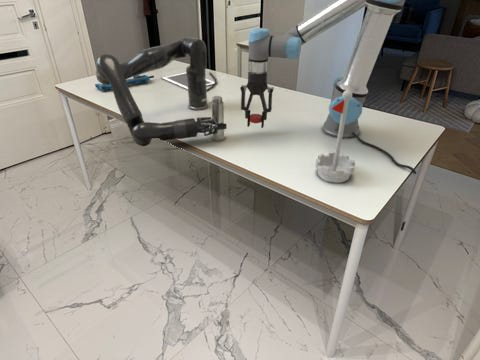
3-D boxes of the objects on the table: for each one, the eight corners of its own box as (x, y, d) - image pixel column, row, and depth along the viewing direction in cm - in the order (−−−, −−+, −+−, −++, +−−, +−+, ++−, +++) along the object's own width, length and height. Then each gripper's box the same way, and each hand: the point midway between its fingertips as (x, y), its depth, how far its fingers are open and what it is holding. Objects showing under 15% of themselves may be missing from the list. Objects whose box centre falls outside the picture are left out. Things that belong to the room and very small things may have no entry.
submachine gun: (140, 68, 224) (158, 75, 207) (141, 74, 226) (159, 81, 209) (87, 79, 205) (103, 86, 189) (89, 85, 207) (104, 93, 190)
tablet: (161, 78, 216) (161, 77, 216) (188, 72, 227) (188, 71, 227) (189, 90, 196) (189, 89, 195) (217, 83, 207) (217, 82, 206)
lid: (261, 117, 147) (261, 113, 146) (263, 123, 143) (263, 118, 141) (248, 118, 146) (248, 113, 145) (250, 123, 142) (250, 118, 141)
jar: (211, 139, 143) (209, 98, 133) (215, 134, 147) (213, 94, 137) (222, 141, 141) (220, 100, 132) (226, 136, 145) (224, 96, 136)
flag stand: (338, 161, 126) (352, 82, 110) (360, 179, 116) (380, 94, 100) (307, 168, 122) (318, 86, 106) (328, 187, 112) (342, 100, 96)
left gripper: (186, 127, 129) (229, 121, 134) (179, 113, 140) (219, 108, 145) (188, 145, 133) (229, 138, 138) (181, 130, 144) (220, 125, 149)
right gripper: (281, 70, 135) (277, 124, 147) (236, 67, 138) (236, 120, 150) (280, 75, 129) (275, 131, 141) (232, 72, 131) (233, 127, 144)
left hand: (224, 123), depth 141 cm, fingers closed on jar, 5 cm apart
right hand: (255, 125), depth 146 cm, fingers closed on lid, 5 cm apart
